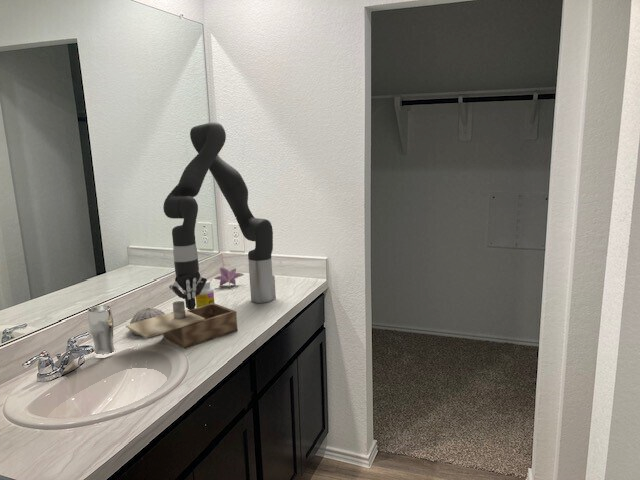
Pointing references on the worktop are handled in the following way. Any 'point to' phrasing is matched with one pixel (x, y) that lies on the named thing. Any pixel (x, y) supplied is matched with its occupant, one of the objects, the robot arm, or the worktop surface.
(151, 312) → the sea urchin shell
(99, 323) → the beer glass
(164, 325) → the lid
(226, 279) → the lily
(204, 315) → the walnut box
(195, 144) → the robot arm
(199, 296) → the supplement bottle
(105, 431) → the worktop surface
